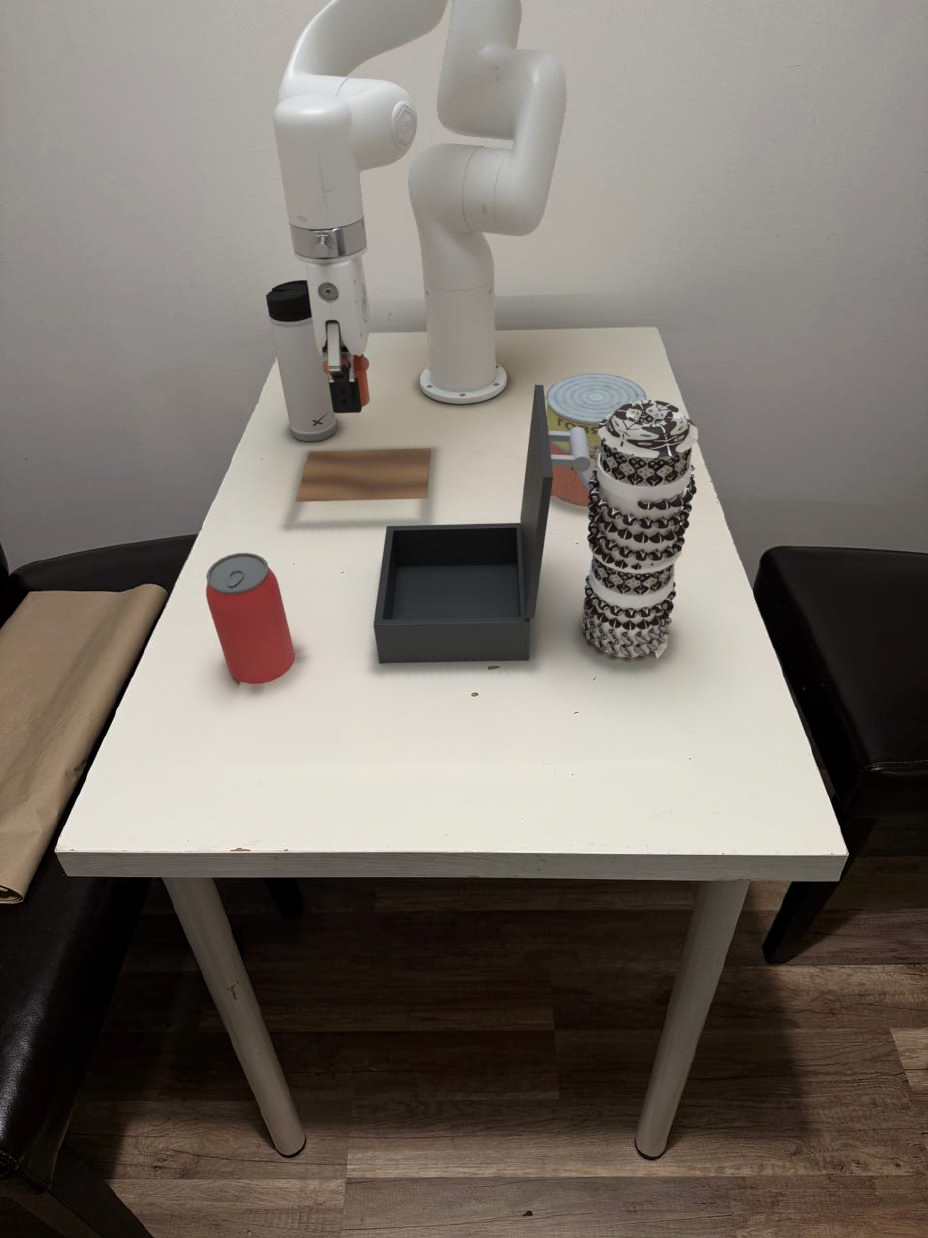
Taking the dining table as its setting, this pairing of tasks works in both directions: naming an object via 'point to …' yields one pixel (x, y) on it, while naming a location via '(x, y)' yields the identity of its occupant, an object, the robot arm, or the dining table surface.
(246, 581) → the beer can
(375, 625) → the open hinged box
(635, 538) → the decorative candle
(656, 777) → the dining table surface
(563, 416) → the canned food
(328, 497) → the mat
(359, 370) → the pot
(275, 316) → the travel mug
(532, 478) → the lid
